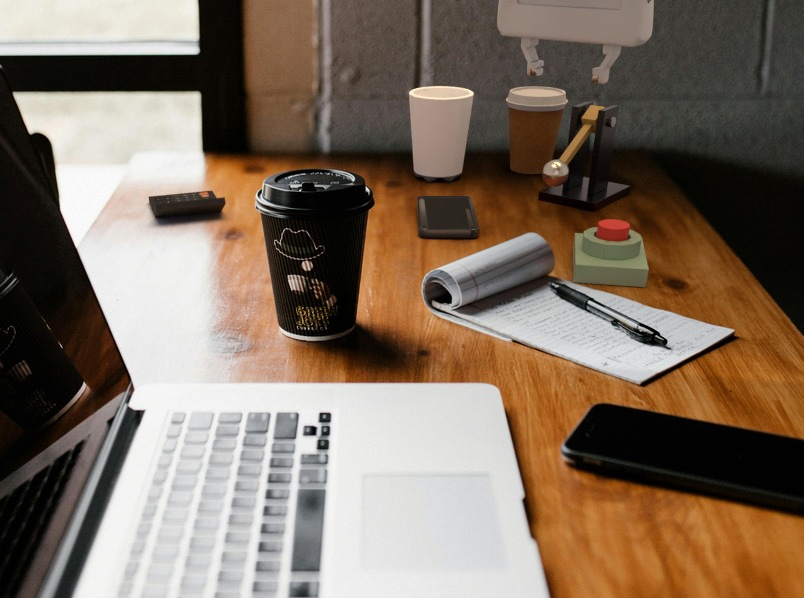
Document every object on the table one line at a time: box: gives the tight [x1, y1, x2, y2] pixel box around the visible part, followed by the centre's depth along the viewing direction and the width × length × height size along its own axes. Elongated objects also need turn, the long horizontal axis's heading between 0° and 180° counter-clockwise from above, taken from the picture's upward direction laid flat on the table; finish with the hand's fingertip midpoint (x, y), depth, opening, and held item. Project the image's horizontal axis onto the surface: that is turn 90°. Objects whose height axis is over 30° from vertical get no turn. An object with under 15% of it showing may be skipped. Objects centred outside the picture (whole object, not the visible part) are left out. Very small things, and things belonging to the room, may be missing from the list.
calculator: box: [148, 190, 226, 218], centre depth 122 cm, size 9×12×3 cm
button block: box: [572, 226, 650, 288], centre depth 101 cm, size 11×8×4 cm
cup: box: [408, 85, 475, 183], centre depth 133 cm, size 10×10×13 cm
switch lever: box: [541, 104, 606, 187], centre depth 120 cm, size 14×4×4 cm
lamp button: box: [596, 218, 631, 242], centre depth 100 cm, size 4×4×2 cm
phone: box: [416, 195, 480, 239], centre depth 118 cm, size 8×1×15 cm
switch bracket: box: [537, 101, 631, 212], centre depth 124 cm, size 11×9×13 cm
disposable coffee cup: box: [505, 86, 569, 175], centre depth 137 cm, size 10×10×12 cm
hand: (566, 78), depth 111 cm, fingers open, 8 cm apart
